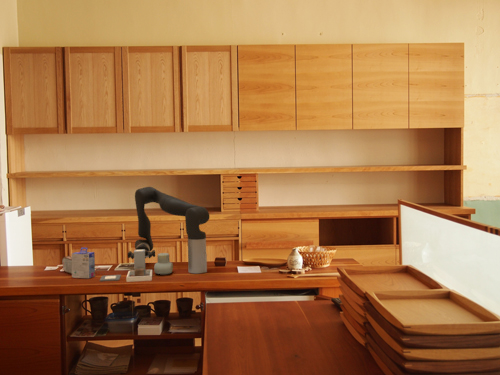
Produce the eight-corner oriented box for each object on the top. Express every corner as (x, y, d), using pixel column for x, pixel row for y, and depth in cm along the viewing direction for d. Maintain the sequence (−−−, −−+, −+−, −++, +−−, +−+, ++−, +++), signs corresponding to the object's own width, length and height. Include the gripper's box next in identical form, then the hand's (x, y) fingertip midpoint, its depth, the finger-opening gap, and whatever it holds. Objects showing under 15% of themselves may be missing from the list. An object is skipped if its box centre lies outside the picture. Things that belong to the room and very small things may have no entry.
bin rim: (152, 273, 231) (152, 269, 231) (151, 280, 218) (151, 275, 218) (128, 275, 229) (128, 270, 229) (126, 281, 216) (126, 277, 216)
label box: (145, 275, 229) (144, 249, 228) (145, 277, 224) (144, 251, 223) (135, 275, 228) (134, 249, 227) (134, 278, 223) (133, 251, 223)
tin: (80, 274, 231) (80, 258, 231) (74, 276, 229) (74, 259, 228) (67, 270, 241) (66, 254, 241) (61, 271, 239) (60, 255, 239)
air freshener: (170, 276, 226) (169, 256, 226) (153, 276, 226) (153, 256, 226) (173, 270, 237) (173, 251, 237) (157, 271, 237) (157, 252, 237)
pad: (121, 275, 228) (120, 274, 228) (119, 280, 219) (119, 279, 219) (102, 276, 226) (102, 275, 226) (99, 281, 217) (99, 280, 217)
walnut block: (143, 278, 223) (143, 268, 223) (143, 280, 219) (143, 270, 219) (135, 278, 222) (135, 268, 222) (134, 280, 218) (134, 270, 218)
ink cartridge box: (95, 276, 228) (95, 247, 228) (89, 278, 223) (88, 249, 222) (78, 275, 230) (77, 246, 230) (71, 278, 225) (70, 248, 224)
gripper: (129, 244, 251) (126, 250, 235) (155, 243, 254) (154, 248, 238) (129, 258, 252) (127, 264, 236) (155, 256, 254) (155, 263, 238)
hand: (141, 256), depth 237 cm, fingers open, 8 cm apart
